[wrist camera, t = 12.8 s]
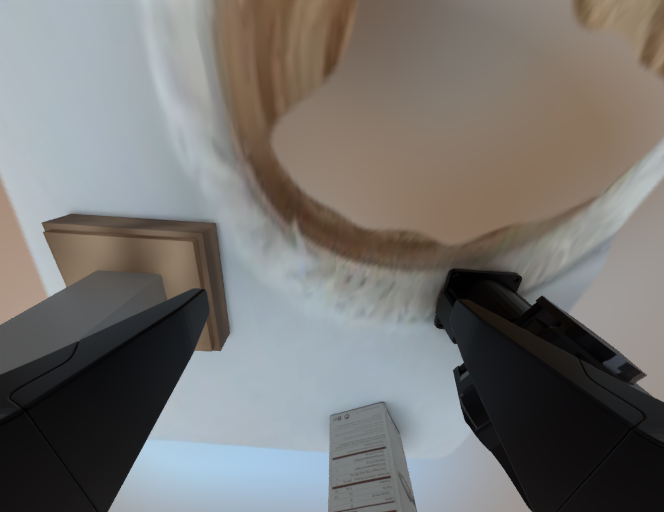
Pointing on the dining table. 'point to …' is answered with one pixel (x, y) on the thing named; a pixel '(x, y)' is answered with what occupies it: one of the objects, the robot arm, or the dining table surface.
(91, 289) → the block
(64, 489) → the robot arm
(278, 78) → the dining table surface
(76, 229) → the walnut stand
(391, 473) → the supplement box
